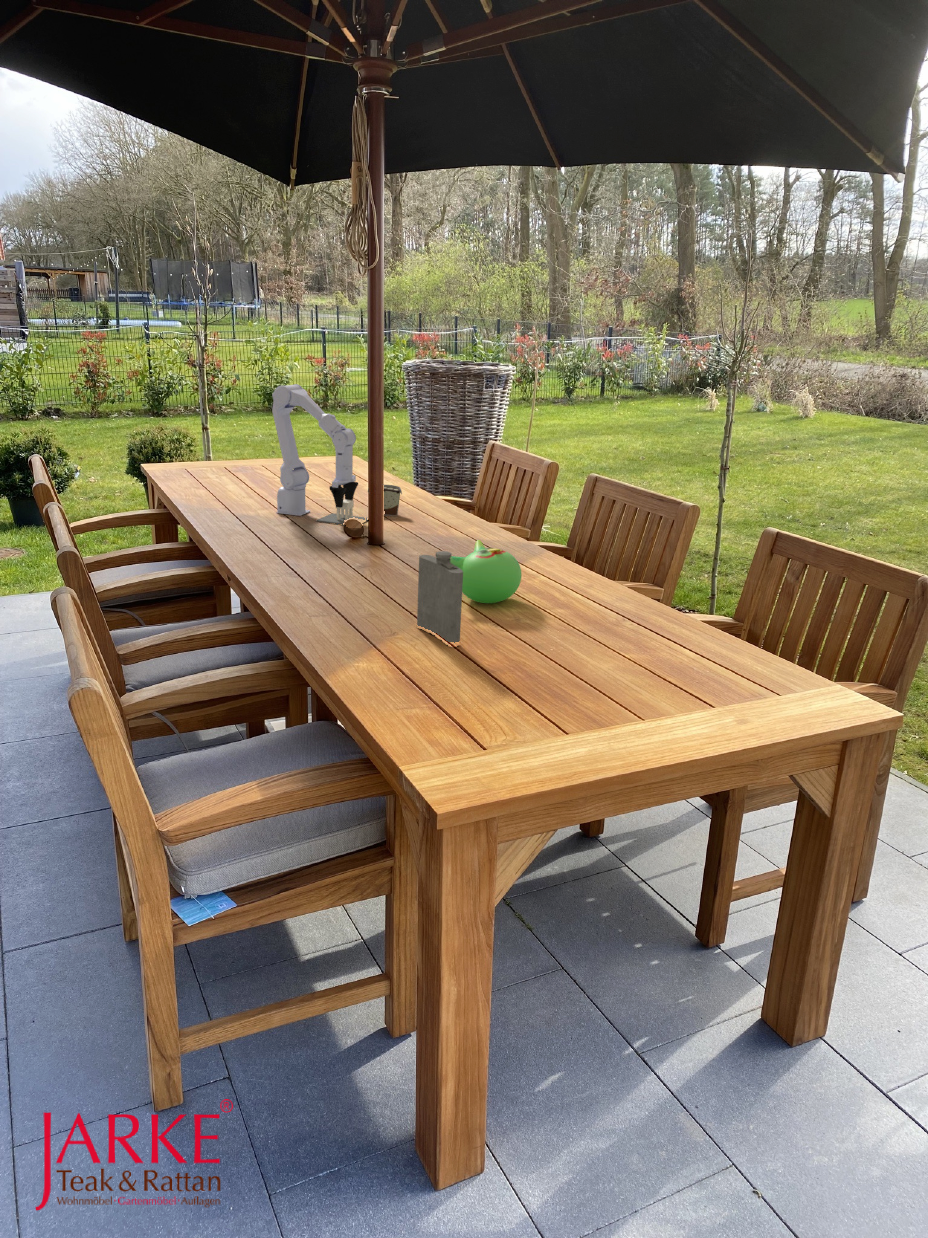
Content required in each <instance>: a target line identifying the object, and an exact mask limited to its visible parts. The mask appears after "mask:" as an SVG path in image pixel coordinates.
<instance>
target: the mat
mask: <svg viewBox="0 0 928 1238" xmlns="http://www.w3.org/2000/svg"><path fill="white" fill-rule="evenodd" d="M353 517H355V518H358V519H363V520H365V518H364V517H365V516H359V515H358V516H356V515H353ZM367 518H368V517H366V521H367ZM344 520H345V514H344V518H341V513H340V520H337V513H334V512H332V513H330V514H327V515H326V516H325V515H324V516H323V517H321V518H318V519H316V521H315V522H316V523H322V522H325V523H324V524H330V523H335V524H334V525H338V524H342V525H341V526H344V525H343V523H344ZM367 522H368V521H367Z"/></svg>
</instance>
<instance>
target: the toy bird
mask: <svg viewBox="0 0 928 1238" xmlns="http://www.w3.org/2000/svg"><path fill="white" fill-rule="evenodd" d="M450 559H451V560H450V563H452V564H453V565H455V566H457V567H458V568H460V569H461V570H462V571H463V585H462V594H464V595H465V597H467V598H468V599H470V600H471V601H474V602H477V603H481V604H494V603H495V604H496V603H499V602H503V601H505V600H508V599H509V598H510V597H512V596H513V595H514V594H515V593H516V592H517V590H518V589H519V587H520V584H521V582H522V569H521V568H522V567H521V565H520V563H519V561H518V559H517V558H515V556H514V555H513V554H511V553H510V552H508V551H506V550H503V549H501V548H494V547H485V545H484V544H483V542H482V541H481V540H480V539H477V540H476V541H475V544H474V549H473V552H471V553H469V554H468V555H466V556H455V555H454V556H453V555H451V558H450Z"/></svg>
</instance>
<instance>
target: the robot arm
mask: <svg viewBox="0 0 928 1238" xmlns="http://www.w3.org/2000/svg"><path fill="white" fill-rule="evenodd" d="M271 395H272V400H273V402H272V408H271V409H272V410H271V411H272V416H273V421H274V425H275V429H276V435H277V439H278V442H279V447H280V448H279V449H280V452H281V457H282V461H283V463H282V465H281V466H280V468H279V470H280V476H279V482H280V483H281V487H279V488H278V490H277V494H276V503H277V504H276V506H277V507H276V508H277V509H276V510H277V511H276V514H282V515H290V516H296V517H297V516H299V517H301V516H303V515H306V514H307V513H310V512H311V510H309V509H306V508H307V505H306V503H307V502H306V487H307V484H308V483H309V481H310V474H309V471H308V470H307V467H306V466H305V463H304V462H303V461H302V459H300V458H299V457H300V456H299V452H298V448H297V443H296V439H295V434H294V429H293V425H292V420H291V415H290V414H291V412H292V411H293V409H294V408H295V407H296V406H297V407H301V408H302V409H304V410H305V411H306V412H307V413H309V414H310V415H311V416H312V417H313V418H315V419H316V421H318V426H319V427H318V428H320V429H321V430H322V431H324V432H325V433H326V434H327V435H328V436H329V438H331V441H332V444H333V446H334V450H335V478H334V479H333V480H332V481H331V485H330V486H329V491H330V492H331V494H332V497H333V501H334V504H335V505H334V506H335V508H336V507H342V506H343V499H345V500H354V496H355V492H356V489H357V488H358V486H359V482H357V476H356V475H354V474H353V471H354V470H353V467H354V464H353V463H354V461H353V459H354V457H353V456H354V454H353V453H354V452H353V451H354V449H353V447H354V444H355V443H356V440H357V435H356V433H355V432H354V431H353V429H352V428H347V427H346V426H345V425H344V424H342V423H341V422H340V421H339V420H337V419H336V418H337V417H336V416H335V415H334V414H332V413H326V412H324V410H322V408H321V407H320V406H319V405H318V404H317V403H316V402H315V401H314V400H313V399H312V397H311V396H309V393H308V391H307V390H305V389H304V388H303V387H302V386H301V385H300V384H297V383H295V384H289V385H278V386H277V387H276V388H275V389H274V391H273V393H272V394H271Z"/></svg>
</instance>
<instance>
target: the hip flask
mask: <svg viewBox="0 0 928 1238" xmlns="http://www.w3.org/2000/svg"><path fill="white" fill-rule="evenodd" d="M451 556H452V552H450V551H446V550H440V551H439V550H438V551H436V552H435V555H430V554H421V555H419V556H418V577H417V578H418V581H417V583H418V584H417V585H418V586H417V588H418V589H417V611H416V612H417V616H416V617H417V618H416V626H417V625H418V626H421V627H424V628H425V629H428V630H431V631H432V632H434V633H437V634H438V635H440V636H441V637H442V638H444V639H445V640H446V641H448V642H454V643H455V642H459V641H461V625H462V605H463V604H462V603H463V602H462V601H463V592H462V585H463V571H462V570H461V569H460V568H458V567H457V566H455V565H453V564H452V563H450V560H451V559H450V558H451Z"/></svg>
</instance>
